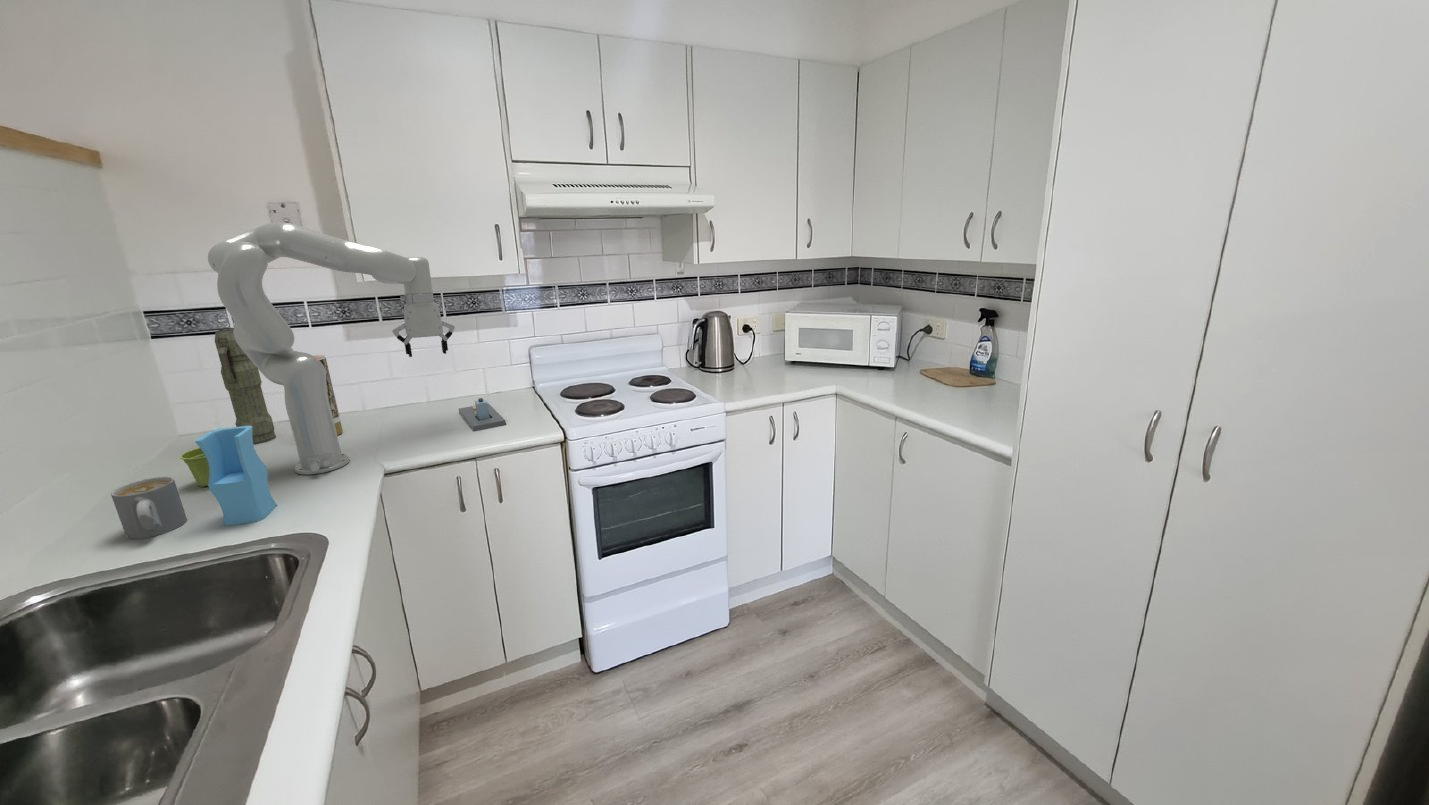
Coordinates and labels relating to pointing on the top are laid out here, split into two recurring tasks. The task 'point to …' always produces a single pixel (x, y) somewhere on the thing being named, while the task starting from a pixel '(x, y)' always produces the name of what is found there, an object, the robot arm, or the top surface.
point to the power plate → (472, 421)
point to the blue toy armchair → (237, 475)
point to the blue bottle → (482, 409)
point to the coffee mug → (149, 507)
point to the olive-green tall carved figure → (244, 387)
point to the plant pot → (197, 465)
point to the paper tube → (331, 396)
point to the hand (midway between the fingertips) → (427, 354)
